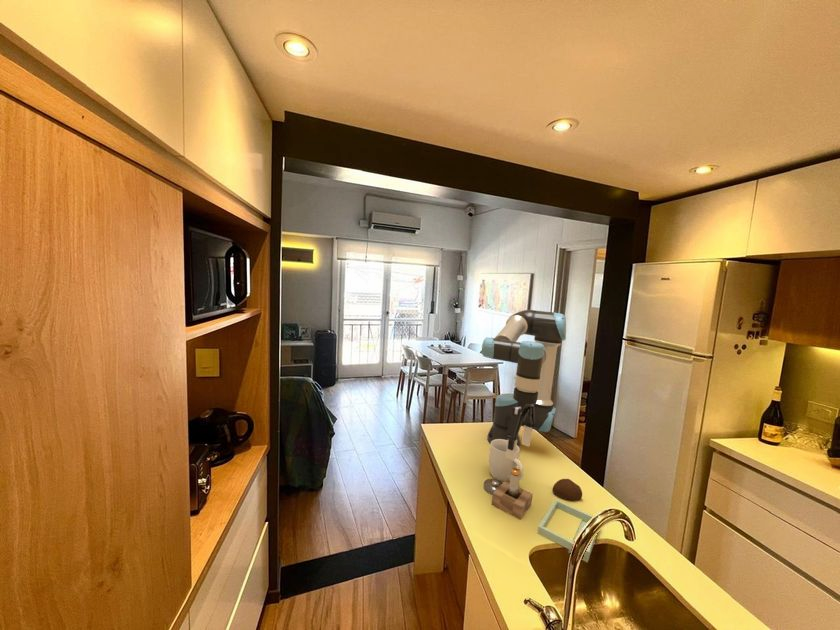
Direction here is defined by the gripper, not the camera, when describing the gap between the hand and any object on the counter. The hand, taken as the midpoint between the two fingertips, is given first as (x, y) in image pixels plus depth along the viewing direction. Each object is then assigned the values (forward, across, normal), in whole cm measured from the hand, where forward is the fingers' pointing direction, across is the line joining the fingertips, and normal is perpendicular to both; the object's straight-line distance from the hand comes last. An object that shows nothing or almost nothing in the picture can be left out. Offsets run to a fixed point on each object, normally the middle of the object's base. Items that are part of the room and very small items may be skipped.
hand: (518, 451), depth 111 cm
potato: (+20, -20, +13) cm, 31 cm away
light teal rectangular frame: (+20, -2, +18) cm, 27 cm away
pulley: (+20, -4, -8) cm, 22 cm away
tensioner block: (+20, 0, 0) cm, 20 cm away
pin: (+19, 0, 0) cm, 19 cm away
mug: (+20, -14, -9) cm, 26 cm away
